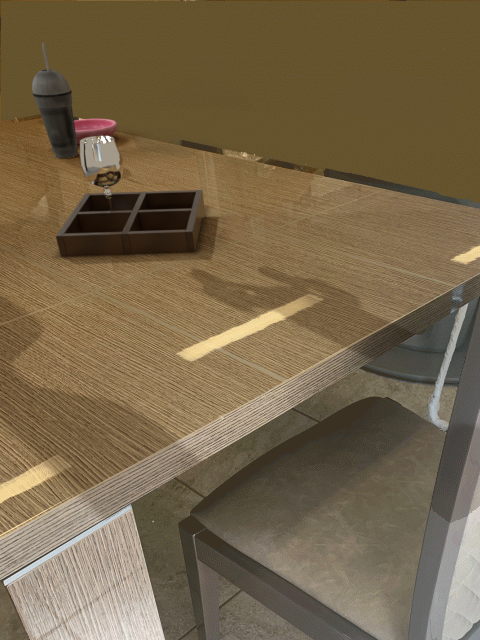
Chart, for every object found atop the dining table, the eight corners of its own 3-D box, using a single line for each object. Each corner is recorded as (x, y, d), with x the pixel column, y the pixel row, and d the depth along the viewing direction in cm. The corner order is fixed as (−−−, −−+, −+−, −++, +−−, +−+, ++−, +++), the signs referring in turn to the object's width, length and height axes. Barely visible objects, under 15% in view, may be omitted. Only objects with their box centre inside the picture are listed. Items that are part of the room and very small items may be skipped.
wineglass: (105, 216, 100) (88, 134, 92) (140, 219, 99) (125, 135, 91) (87, 230, 95) (67, 144, 88) (123, 232, 94) (106, 146, 87)
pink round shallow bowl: (54, 137, 143) (50, 122, 141) (108, 130, 148) (106, 115, 147) (70, 149, 135) (66, 133, 133) (127, 141, 140) (124, 125, 138)
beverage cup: (75, 148, 135) (50, 38, 123) (91, 155, 131) (67, 42, 119) (42, 155, 131) (13, 42, 119) (57, 162, 127) (29, 46, 115)
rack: (63, 265, 87) (55, 236, 84) (91, 219, 101) (85, 193, 98) (196, 260, 88) (192, 231, 85) (205, 216, 102) (202, 189, 99)
